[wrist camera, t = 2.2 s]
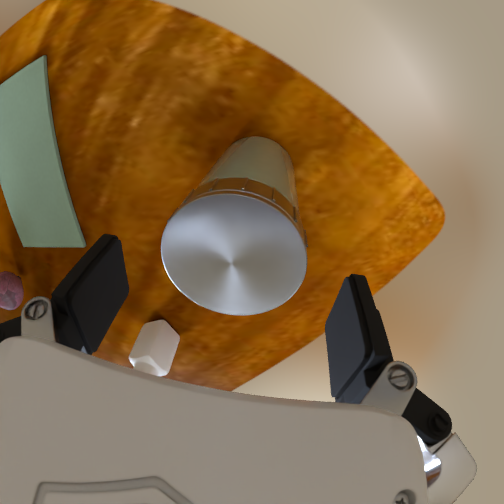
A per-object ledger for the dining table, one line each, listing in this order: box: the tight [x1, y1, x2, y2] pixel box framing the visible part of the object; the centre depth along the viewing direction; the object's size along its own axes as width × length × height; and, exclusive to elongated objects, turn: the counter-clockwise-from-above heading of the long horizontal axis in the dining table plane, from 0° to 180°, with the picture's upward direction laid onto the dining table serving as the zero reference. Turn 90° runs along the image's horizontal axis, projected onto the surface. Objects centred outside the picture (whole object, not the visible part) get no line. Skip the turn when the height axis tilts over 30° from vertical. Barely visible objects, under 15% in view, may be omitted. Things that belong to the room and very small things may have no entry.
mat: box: [0, 55, 86, 247], centre depth 22 cm, size 22×13×1 cm, turn 3°
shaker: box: [196, 136, 300, 217], centre depth 17 cm, size 6×6×12 cm
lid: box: [161, 177, 308, 315], centre depth 12 cm, size 6×6×2 cm
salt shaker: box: [129, 319, 180, 376], centre depth 30 cm, size 4×4×10 cm
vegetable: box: [0, 271, 23, 310], centre depth 29 cm, size 6×6×10 cm
